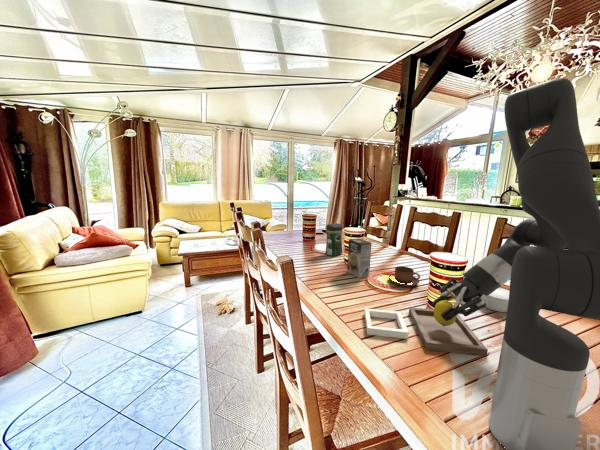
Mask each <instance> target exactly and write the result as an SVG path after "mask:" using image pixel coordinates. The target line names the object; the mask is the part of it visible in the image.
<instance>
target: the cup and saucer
mask: <svg viewBox="0 0 600 450" xmlns="http://www.w3.org/2000/svg"><path fill="white" fill-rule="evenodd" d="M391 275H395V279H396V280H397V281H398V282H400V283H405V284H400V283H397V282H394V281H392V280H391V279H390V278H389V277H390V276H391ZM414 275H417V277H415V276H414ZM420 278H421V275H420V273H418V272H415V271H414V269H413V268H412V267H408V266H402V265H401V266H395V267H394V273H392V274H389V276H388V279H390V280H389V281H390V282H391V281H392V282H391V283H393V284H395V285H397V284H398V286H401V287H415V286H417V285H418V284H419V283H420ZM411 282H412V283H413V284H412V285H407V283H411Z"/></svg>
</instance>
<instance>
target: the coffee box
mask: <svg viewBox="0 0 600 450" xmlns="http://www.w3.org/2000/svg"><path fill="white" fill-rule="evenodd" d="M347 252H348V253H347V272H348V273H349V274H351V275H352V276H354V277H356V278H358V279H362V278H366V277H367V278H368V277H369V276H370V269H371V256H372V242H370V241H368V240H365V239H362V238H359V237H358V238H349V239H348V248H347ZM368 275H369V276H368Z"/></svg>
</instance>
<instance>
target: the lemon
mask: <svg viewBox="0 0 600 450" xmlns="http://www.w3.org/2000/svg"><path fill="white" fill-rule="evenodd" d="M453 305H454V303H451V302H450V301H447V300H444V301H439V302H438V303H437V304H436V305H435V308H434V307H433V310H434V317H435V319H436V321H437V322H438V323H439V324H441V325H442V326H449V325H452V324H453V323H454V322H455V320H456V316H455V317H453V318H452V319H451V320H448V321H445V320H444V319H443V318H442V316H441V314H442V313H443V312H445V311H446V310H447V309H449V308H450V307H452V306H453ZM452 308H453V307H452Z"/></svg>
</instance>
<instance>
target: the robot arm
mask: <svg viewBox="0 0 600 450" xmlns="http://www.w3.org/2000/svg"><path fill="white" fill-rule="evenodd" d="M577 107H578V106H577V98H576V92H575V88H574V84H573V83H572V81H570V79H569V78H566V77H560V78H554V79H550V80H547V81H544V82H542V83H537V84H535V85H532V86H529V87H527V88H523V89H520V90H518V91H515V92H512V93H510V94H508V96H507V97H506V99H505V101H504V122H505V126H506V132H507V136H508V140H509V144H510V149H511V154H512V157H513V161H514V165H515V167H516V171H517V188H518V193H519V195H520V201H521V208H522V210H523V212H525V213H526V214H527V215H529V216H531V218H527V219H524V220H523V221H521V222H520V223H518V224H517V225H516V226H515V228H514V229H513V231H512V232H511V233H510V235H509V236H508V237H507V239H506V240H505V242H504V243H503V244H502V245H500V246H499V247H498V248H497V249H495V250H494V251H493V252H491V254H488V255H487V256H485V257H484V258H482V259H481V260H479V261H478V262H477V263H476V264H474V265H473V266H472V267H471V268H470V269H468V270H466V271H465V272H464V273H463V277H464V278H463V279H461V280H456V278H455V277H451V278H450V279H449V280H448V281H447V282H446V283H445V284H444V285H443V286H442V287H441V288H440V289H439V293H440V294H439V295H440V296H439V297H437V298H436V299H435V300H433V301H432V302H431V306H432V307H433V309H434V308H435V305H436V304H437V303H438V302H439V301H444V300H447V301H448V302H450V301H452V300H455V302H454V303H453V306H452V307H453V308H452V307H450V308H449V309H447V310H446V311H445V312H443V313H442V314H441V316H442V318H443V319H444V320H445V321H448V320H451V319H452V318H453V317H455V316H456V315H457V314H458V315H463V316H464V317H468V316H470V315H472V314H475V312H478V311H479V310H481V309H483V308H486V307H485V306H486V303H485V302H484V301H483V300H482V299H481V297H482V295H483V294H484V295H486V296H488V295H490V294H491V293H492V292H494V291H495V290H496V289H498V288H502V286H503V285H505V284H507V283H508V282H509V301H508V308H507V312H506V315H505V322H504V323H505V324H504V331H503V338H502V342H501V350H500V352H499V357H498V358H499V360H498V363H497V364H498V366H497V371H496V377H495V381H494V383H495V384H494V388H493V393H492V400H491V408H490V411H489V412H490V414H489V418H488V427H489V430H490V432H491V434H492V436H493V435H494V436H493V438H494V439H495V438H496V439H497V440H498V441H497V440H496V439H495V440H496V441H497V443H498V444H499V443H501V444H502V446H504V447H505V448H506V450H575V449H576V445H577V442H578V438H579V434H580V430H581V426H582V423H581V420H580V419H578V418H577V416H576V412H577V408H578V405H579V400H580V396H581V391H582V387H583V384H584V379H585V375H586V371H587V368H588V365H589V362H590V357H591V355H590V353H591V352H590V348H589V346H588V345H587V343H586V342H585V341H584V340H583V339H581V338H580V337H579V335H577V334H575V333H574V332H571V331H570V330H568V329H566V328H564V327H562V326H561V325H559V324H556V323H554V322H553V321H550V320H548V319H547V318H544V316H542V315H540V311H541V310H544V311H549V312H554V313H559V314H562V315H569V316H575V317H578V318H579V317H580V318H583V319H590V320H597V321H600V205H599V201H598V197H597V193H596V188H595V182H594V177H593V176H594V175H593V171H592V167H591V163H590V159H589V157H588V153H587V151H586V146H585V144H584V140H583V137H582V134H581V130H580V124H579V116H578V108H577ZM544 127H548V128H547V129H546V130H545V131H544V132H543V133H542V134H541V135H540V136H539V137H538V138H537V140H535V142H533V143H532V144H530V143H529V141H528V139H527V132H528V131H532V130H535V129H536V130H537V129H541V128H544ZM566 248H567V249H566ZM502 446H501V447H502Z"/></svg>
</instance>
